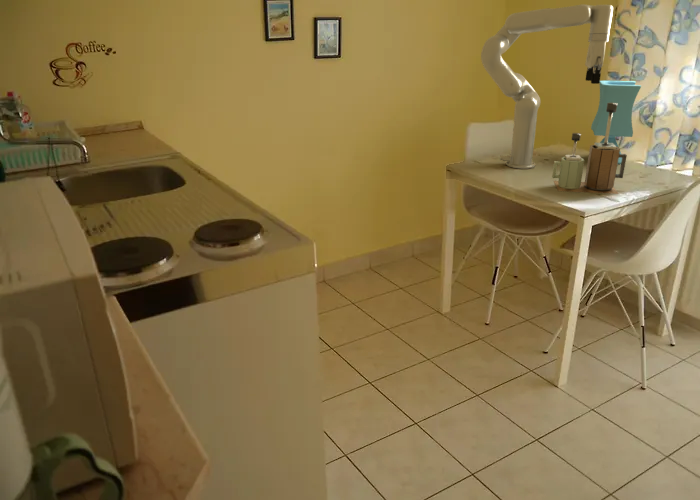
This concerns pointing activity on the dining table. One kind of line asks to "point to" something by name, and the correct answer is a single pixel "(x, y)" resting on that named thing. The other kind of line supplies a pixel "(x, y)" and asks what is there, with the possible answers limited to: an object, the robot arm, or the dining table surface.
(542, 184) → the dining table surface
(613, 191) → the walnut board
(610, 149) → the brown coffee press
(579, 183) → the green press
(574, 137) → the green press plunger
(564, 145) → the dining table surface
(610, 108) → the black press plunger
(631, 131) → the planter
